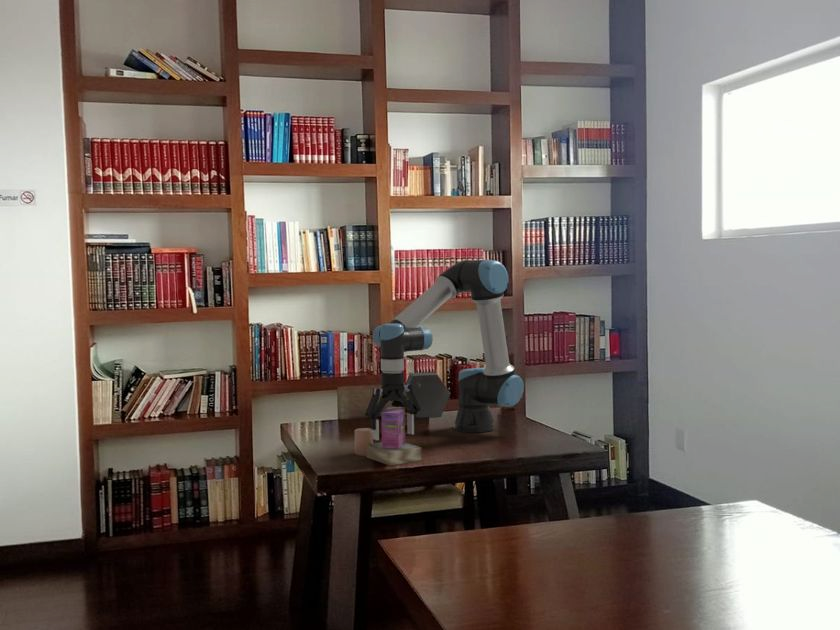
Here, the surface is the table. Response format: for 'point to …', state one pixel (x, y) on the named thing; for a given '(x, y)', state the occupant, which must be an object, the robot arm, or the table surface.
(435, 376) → the dark grey hexagonal block
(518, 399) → the robot arm
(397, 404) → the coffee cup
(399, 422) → the box
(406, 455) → the mirror
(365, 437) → the tan capsule cylinder
